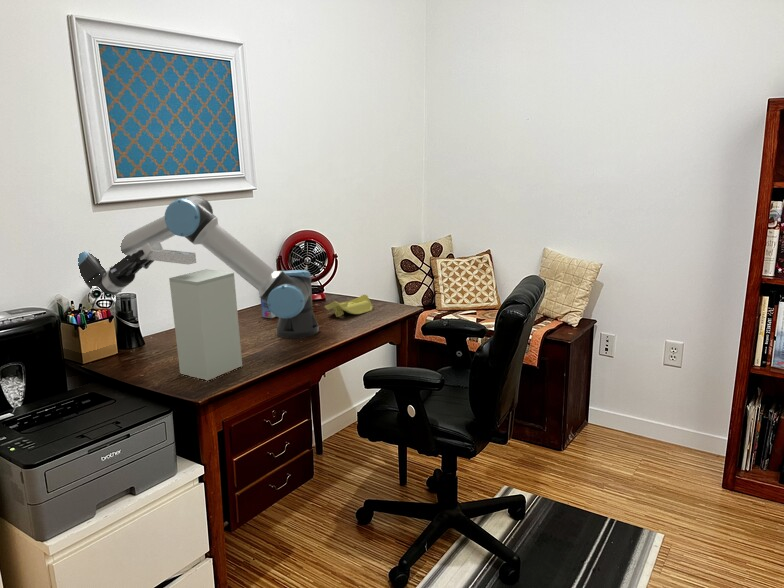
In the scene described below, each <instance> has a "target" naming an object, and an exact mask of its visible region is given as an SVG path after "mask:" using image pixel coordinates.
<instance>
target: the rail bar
mask: <svg viewBox="0 0 784 588" xmlns="http://www.w3.org/2000/svg"><path fill="white" fill-rule="evenodd" d="M140 249H141V248H138V249H135V250H136V253H137V252H138V251H139V250H140ZM152 250H153V251H152V252H151V253H149V254H148V255H147V256H146V257H145V258H144V259H146V260H154V262H162V263H163V262H164V263H171V264H181V265H189V266H190V265H193V264H197V258H196V254H197V253H196V252H190V251H182V250H172V249H171V250H170V249H164V248H163V249H153V248H152ZM139 259H140V258H139Z"/></svg>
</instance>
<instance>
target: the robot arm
mask: <svg viewBox="0 0 784 588" xmlns="http://www.w3.org/2000/svg"><path fill="white" fill-rule="evenodd" d="M213 211H214V210H213V207H212V205H211V202H209V201H208V200H207V199H206V198H204V197H203V196H200V195H189V196H185V197H180V198H177V199H175V200H173V201H172V202H170V203H169V204H168V206H167V207H166V209H165V211H164V216H162V217H159V218H157V219H155V220H153V221H151V222H149V223H148V224H145V225H143V226H141V227H139V228H136V229H135V230H132V231H131V232H129V233H127V235H126V234H125V235H126V236H125V237H124V239H123V240H122V243H121V246H120V247H121V251H122V253H124V254H125V255H127V256H126V257H125V258H123V259H122V260H121V261H120V262H118V263H117V264H115V265H114V266H111V267H109V269H108V270H106V269H104V268H103V267H102V266H101V264H100V261H99V259H97V258H96V257H94V256H93V255H92V254H90V253H89V252H85V251H84V252H82V253H80V254H79V258H78V262H79V263H78V266H79V269H80V273H81V276H82V277H83V279H84V281H85V282H84V281H83V282H84V283H85V285H86V286H87V287H88V289H89V288H90V289H91V288H92V286H98V287H99V288H100V289H101V290H102V291H103V292H105V293H107V294H112V295H115V296H116V295H118V294H119V293H122V292H123V290H124V289H125V288H126V287H127V286H129V285H130V284H131V283H132V282H134V280H135V278H136V274H138V272H139V271H140V270H142V268H143V269H145V270H147V269H149V267H150V266H151V265H152V264H153V263H154V262H155V261H154V260H146V259H144V258H145V257H146V256H147V255H148V254H149V253H151V252H152V251H153V250H152V248H153V249H163V250H164V248H163V246H162V244H161V243H162V242H164V241H166V240H169V239H170V238H172V237H175V236H177V237H183V238H185V239H187V240H188V241H189V242H190V243H192V244H193V245H196V246H197V245H201V246H202V247H204V248H206V250H207V251H209V252H210V253H211V254H212V255H214V256H215V257H216V258H218V259H219V260H220V261H221V262H222V263H223V264H225V265H226V266H227V267H228V268H230V269H231V270H233V271H234V273H236V274H237V275H238V276H240V277H241V278H242V279H243V280H244V281H246V282H248V284H250V286H252V287H253V288H255V289H256V290H257V291H258V295H259V298H260V300H261V299H262V300H264V301H265V302H266V303H267V304H268V307H269V309H270V311H271V312H272V313H273V314H274V315H275V316H276V317H277V318H278V320H277V326H276V335H277V336H278V337H281V338H284V339H304V338H310V337H312V336H315V335H316V334H318V333H319V331H320V329H319V323H318V321H317V318H316V315H315V313H314V310H313V295H312V294H313V293H312V292H313V291H312V277H311V272H310V271H309V270H304V269H294V270H293V269H291V270H290V269H289V270H275V269H273V267H271V266H270V265H269V264H267V263H266V262H265V261H264V260H262V259H261V258H260V257H259V256H258V255H256V254H255V253H254V252H252V251H251V250H250V249H249V248H248V247H247V246H245V245H244V244H243V243H241V242H240V241H239V240H238V239H237V238H235V237H234V236H233V235H232V234H230V233H229V232H228V231H227V230H226V229H224V228H223V227H222V226H221V225H220V224H219V221H218V220H219V219H218V217H217V216H216V215H215V214H214V212H213ZM138 248H141V249H140V250H139V251H138V252H137V253H136V250H135V249H138ZM139 258H140V259H139ZM99 274H100V275H99ZM93 278H94V279H93ZM89 281H90V282H89Z"/></svg>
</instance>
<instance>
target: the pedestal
mask: <svg viewBox="0 0 784 588" xmlns="http://www.w3.org/2000/svg"><path fill="white" fill-rule="evenodd" d="M168 282H169V291H170V297H171V305H172V306H171V307H172V315H173V323H174V331H175V341H176V350H177V357H178V358H177V359H178V366H179V367H178V368H179V374H180V373H181V374H185V375H189V376H193V377H197V378H201V379H205V380H209V379H211V378H213V377H216V376H218V375H220V374H222V373H225V372H227V371H230V370H232V369H235V368H237V367H240V366H242V367H243V359H242V358H243V357H242V348H241V347H242V345H241V337H240V325H239V314H238V313H239V312H238V304H237V303H238V302H237V293H236V283H235V282H236V279H235V272H233V271H231V272H230V271H224V270H223V271H222V270H214V269H208V268H206V269H203V270H202V269H201V270H198V271H193V272H190V273H185V274H181V275H177V276H173V277H169V281H168Z"/></svg>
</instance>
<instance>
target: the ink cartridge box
mask: <svg viewBox="0 0 784 588" xmlns="http://www.w3.org/2000/svg"><path fill="white" fill-rule="evenodd" d="M260 305H261V315H262V317H263V318H266V319H267V318H268V319H273V318H276V317H277V316H275V315H274V314H273V313H272V312H271V311H270V309H269V307H268V304H267V303H266V302H265V301H264V300H262V299H261V298H260Z"/></svg>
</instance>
